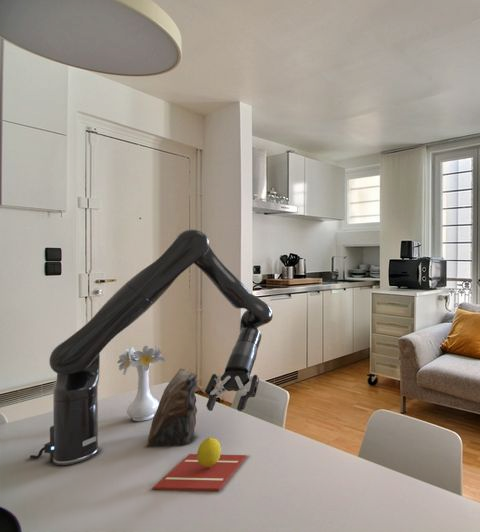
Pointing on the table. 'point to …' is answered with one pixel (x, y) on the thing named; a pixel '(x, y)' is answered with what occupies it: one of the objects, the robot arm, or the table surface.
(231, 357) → the robot arm
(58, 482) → the table surface
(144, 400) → the flower vase
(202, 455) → the lemon
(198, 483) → the pot holder
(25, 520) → the table surface
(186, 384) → the brown rock
